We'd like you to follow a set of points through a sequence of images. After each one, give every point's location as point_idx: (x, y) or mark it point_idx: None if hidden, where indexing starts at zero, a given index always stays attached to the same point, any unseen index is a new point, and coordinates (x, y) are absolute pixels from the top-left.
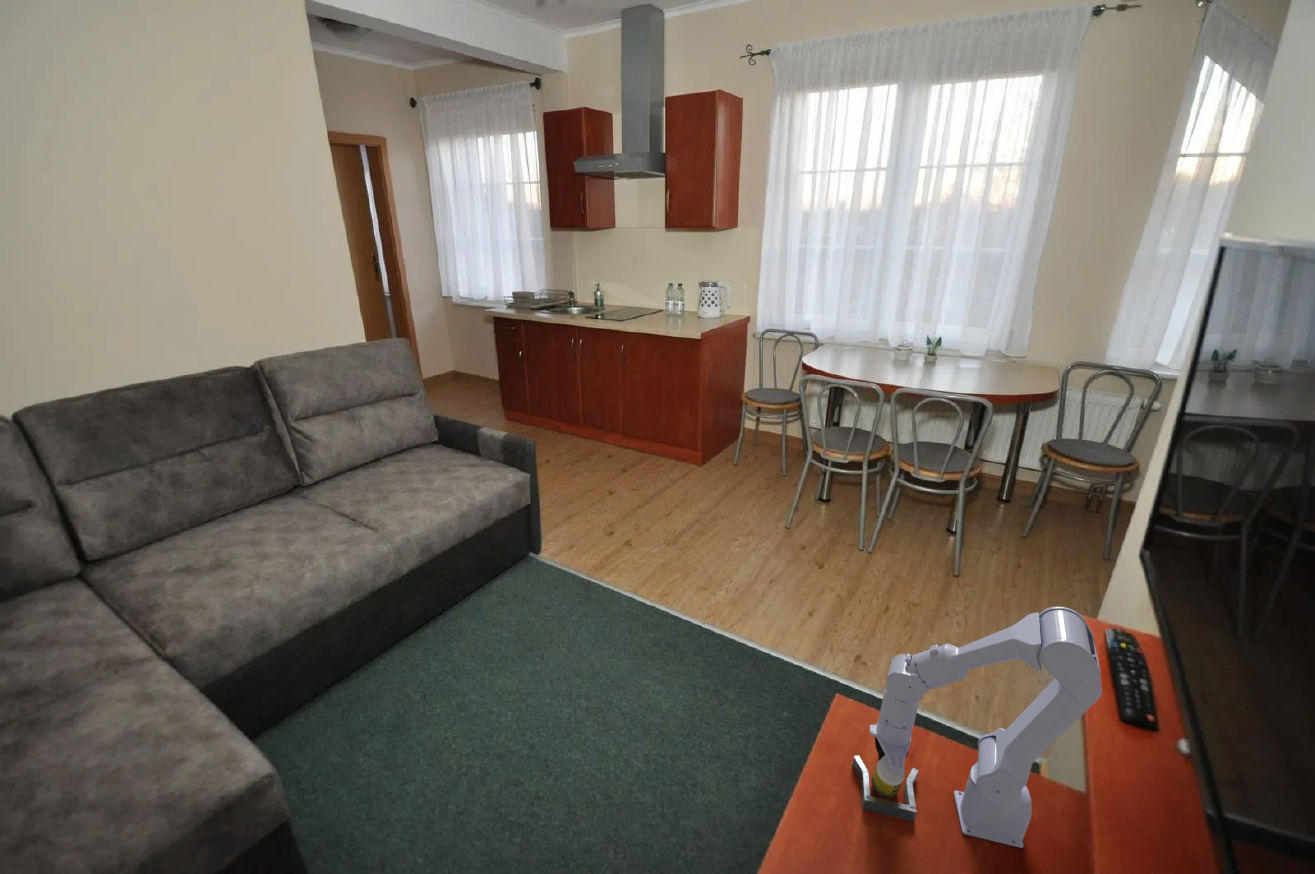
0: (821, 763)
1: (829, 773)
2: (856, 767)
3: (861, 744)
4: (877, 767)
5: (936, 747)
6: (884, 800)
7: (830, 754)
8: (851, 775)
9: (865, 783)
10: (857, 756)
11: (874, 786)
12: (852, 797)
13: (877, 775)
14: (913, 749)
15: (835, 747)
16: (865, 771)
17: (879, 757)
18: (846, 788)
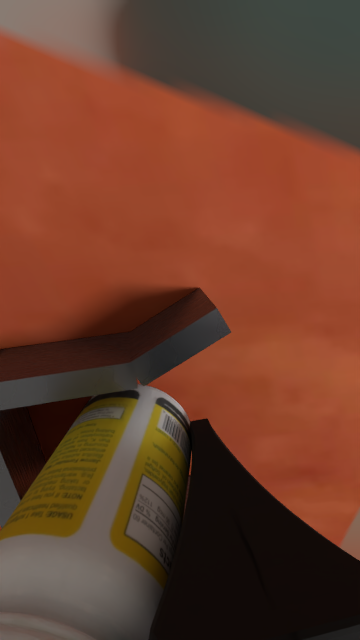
0: (156, 115)
1: (107, 172)
2: (175, 315)
3: (322, 316)
4: (42, 559)
5: (346, 520)
6: (2, 469)
7: (233, 169)
8: (143, 288)
9: (54, 383)
10: (221, 326)
11: (91, 404)
12: (19, 303)
13: (22, 518)
14: (329, 474)
15: (283, 195)
16: (135, 375)
17: (185, 508)
18: (56, 271)
